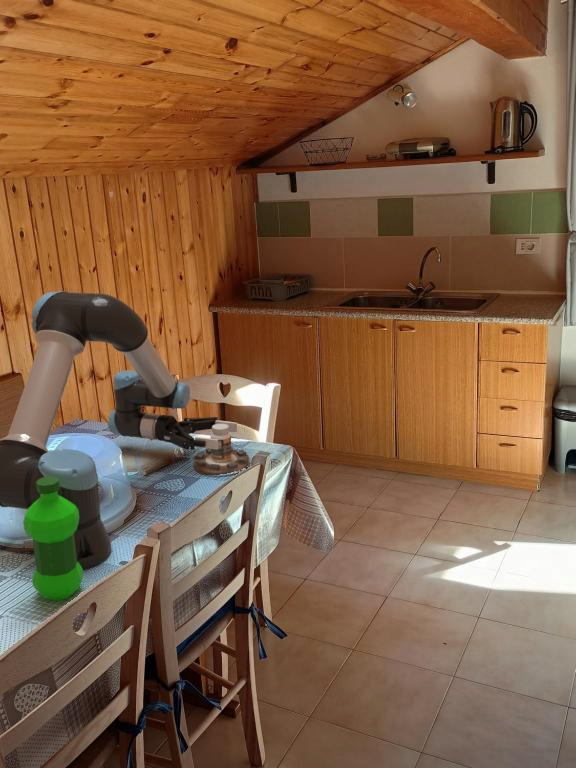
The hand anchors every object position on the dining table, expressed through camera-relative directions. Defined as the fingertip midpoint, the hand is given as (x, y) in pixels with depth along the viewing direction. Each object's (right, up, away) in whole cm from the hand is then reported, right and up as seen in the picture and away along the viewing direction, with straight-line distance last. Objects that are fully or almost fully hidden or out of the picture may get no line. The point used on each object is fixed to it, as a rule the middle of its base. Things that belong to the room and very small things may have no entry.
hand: (227, 435), depth 212 cm
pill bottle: (-2, -7, +3) cm, 8 cm away
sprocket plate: (-2, -8, +3) cm, 9 cm away
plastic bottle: (-29, -28, -58) cm, 71 cm away
